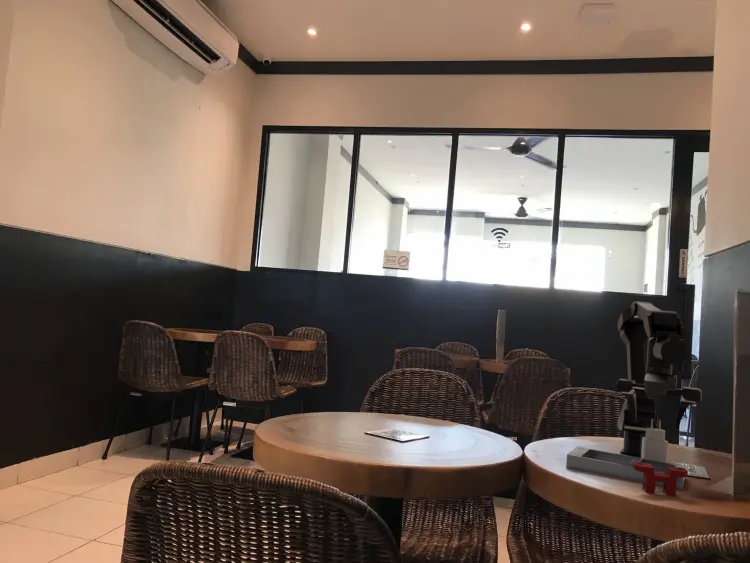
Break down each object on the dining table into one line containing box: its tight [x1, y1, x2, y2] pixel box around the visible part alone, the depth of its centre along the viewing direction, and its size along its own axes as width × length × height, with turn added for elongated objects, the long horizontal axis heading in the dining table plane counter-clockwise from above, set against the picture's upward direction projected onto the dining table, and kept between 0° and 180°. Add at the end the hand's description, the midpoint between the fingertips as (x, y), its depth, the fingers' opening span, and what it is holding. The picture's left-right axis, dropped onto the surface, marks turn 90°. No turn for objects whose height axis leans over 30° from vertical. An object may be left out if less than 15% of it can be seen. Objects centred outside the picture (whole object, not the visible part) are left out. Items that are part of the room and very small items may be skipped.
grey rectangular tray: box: [565, 445, 687, 490], centre depth 134 cm, size 12×24×3 cm, turn 59°
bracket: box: [633, 462, 689, 497], centre depth 118 cm, size 3×6×10 cm
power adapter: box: [640, 419, 669, 463], centre depth 141 cm, size 3×5×12 cm, turn 82°
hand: (655, 425), depth 141 cm, fingers open, 9 cm apart
